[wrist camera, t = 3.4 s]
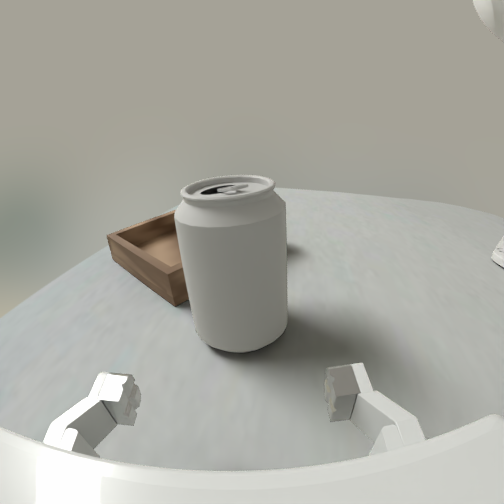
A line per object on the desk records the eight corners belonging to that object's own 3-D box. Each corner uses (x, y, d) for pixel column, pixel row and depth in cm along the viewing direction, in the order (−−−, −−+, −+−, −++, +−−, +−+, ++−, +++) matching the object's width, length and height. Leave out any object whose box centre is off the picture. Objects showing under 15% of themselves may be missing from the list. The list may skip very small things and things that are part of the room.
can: (249, 293, 30) (239, 167, 25) (306, 328, 24) (309, 179, 19) (181, 325, 26) (153, 187, 20) (232, 375, 20) (207, 206, 15)
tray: (204, 222, 49) (201, 201, 47) (283, 247, 38) (282, 221, 37) (112, 259, 39) (106, 235, 37) (175, 306, 28) (167, 274, 27)
